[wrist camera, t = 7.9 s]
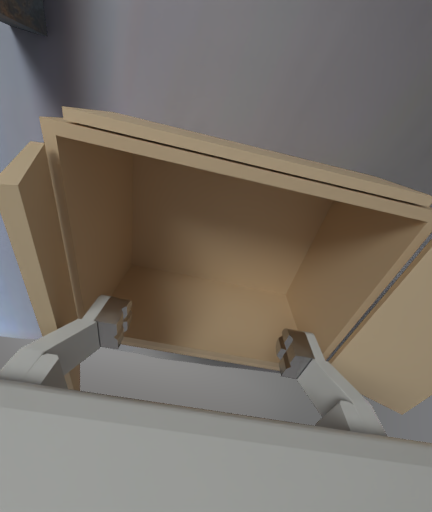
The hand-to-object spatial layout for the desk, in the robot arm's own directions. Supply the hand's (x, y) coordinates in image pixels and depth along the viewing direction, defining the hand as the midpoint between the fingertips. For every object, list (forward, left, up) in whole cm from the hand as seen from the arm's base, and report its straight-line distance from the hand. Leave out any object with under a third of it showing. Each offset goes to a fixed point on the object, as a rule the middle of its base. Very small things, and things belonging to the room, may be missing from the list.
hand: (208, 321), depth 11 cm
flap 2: (0, +11, -3) cm, 11 cm away
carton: (0, +1, -13) cm, 13 cm away
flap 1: (0, -9, -3) cm, 10 cm away
